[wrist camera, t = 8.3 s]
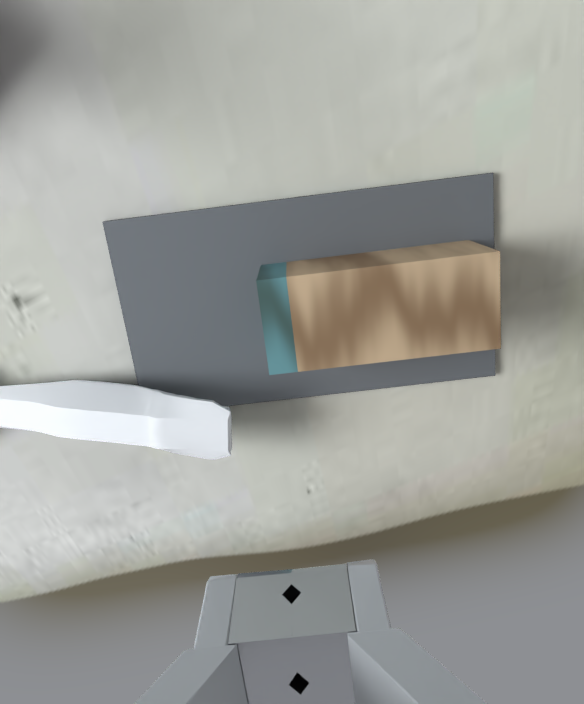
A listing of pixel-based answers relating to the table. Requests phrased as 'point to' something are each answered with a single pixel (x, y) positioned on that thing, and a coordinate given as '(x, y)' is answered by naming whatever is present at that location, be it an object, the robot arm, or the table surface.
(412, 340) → the oak block
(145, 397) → the white fish figurine
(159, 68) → the table surface
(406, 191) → the rubber mat
